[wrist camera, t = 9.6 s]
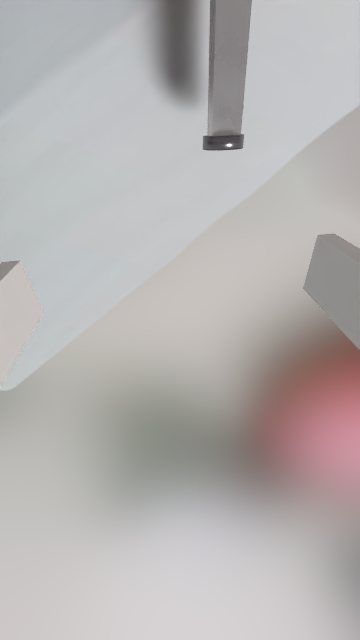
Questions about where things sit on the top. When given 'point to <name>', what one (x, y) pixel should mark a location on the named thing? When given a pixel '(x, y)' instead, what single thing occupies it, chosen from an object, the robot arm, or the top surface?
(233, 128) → the shaft
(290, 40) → the top surface
